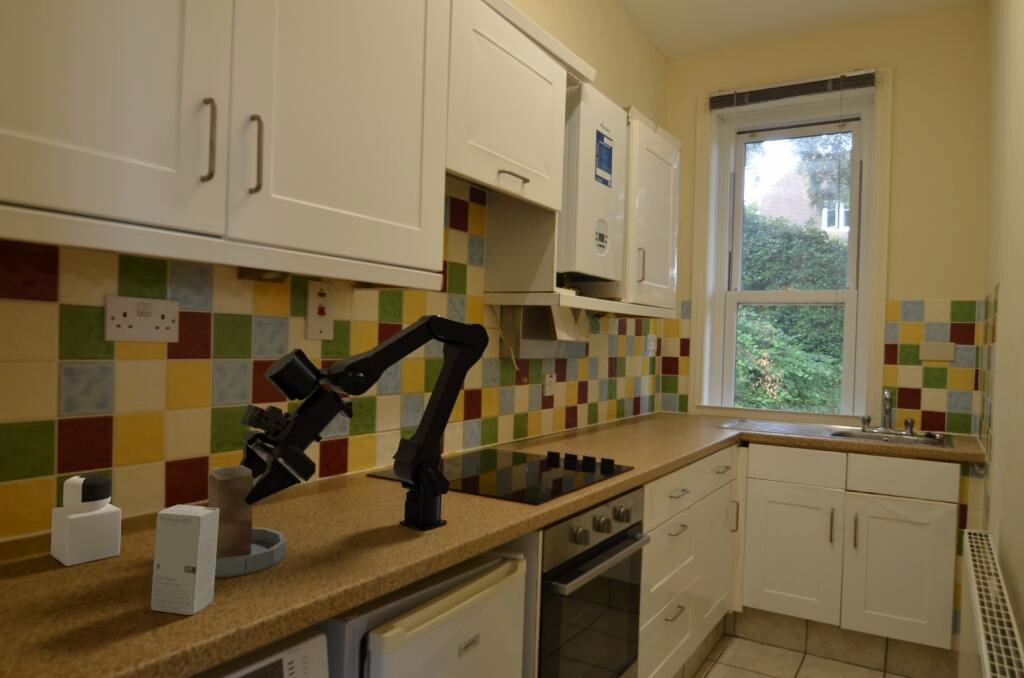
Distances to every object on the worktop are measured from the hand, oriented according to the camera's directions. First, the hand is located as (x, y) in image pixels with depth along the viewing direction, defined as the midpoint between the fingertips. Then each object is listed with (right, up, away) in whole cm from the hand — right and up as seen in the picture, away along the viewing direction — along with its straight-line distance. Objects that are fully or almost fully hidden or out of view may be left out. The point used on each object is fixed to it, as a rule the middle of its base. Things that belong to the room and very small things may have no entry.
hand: (237, 496), depth 99 cm
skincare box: (+1, -10, -18) cm, 21 cm away
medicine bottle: (-22, -9, -1) cm, 24 cm away
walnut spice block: (-1, -9, -1) cm, 9 cm away
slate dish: (-1, -9, -1) cm, 9 cm away
